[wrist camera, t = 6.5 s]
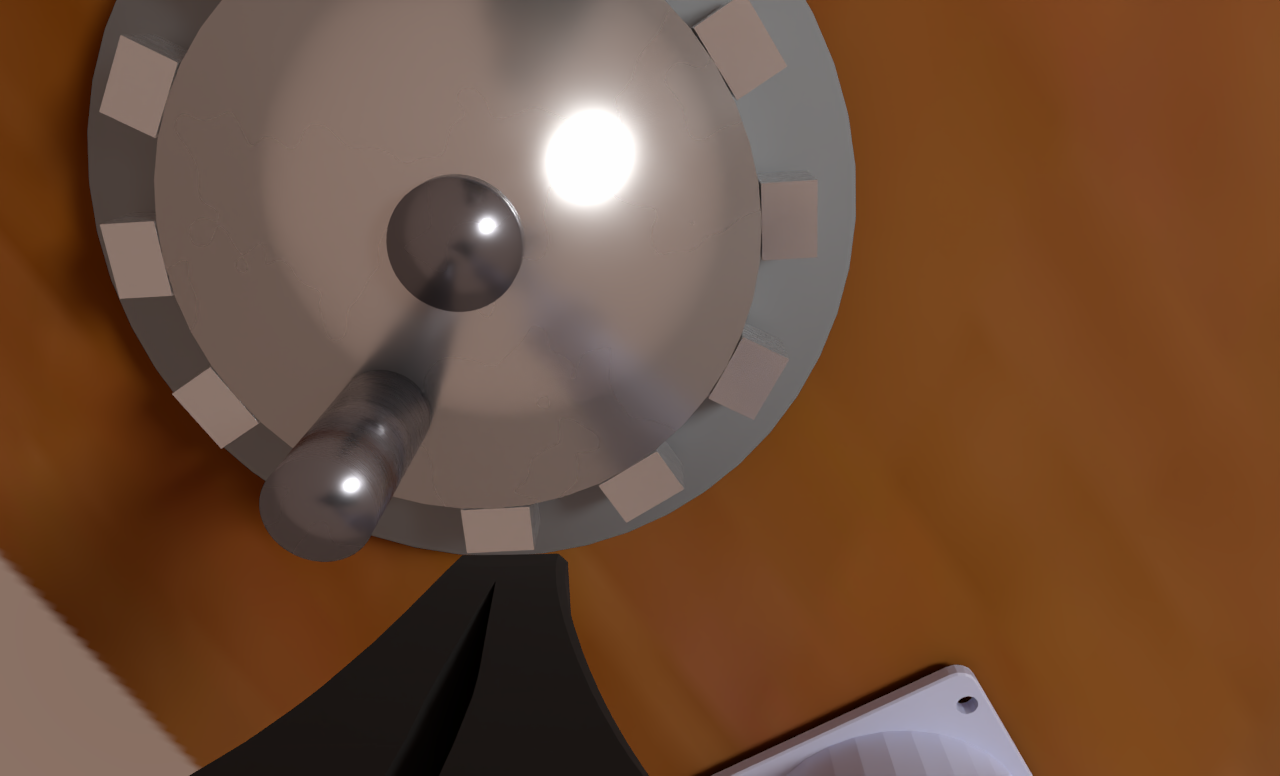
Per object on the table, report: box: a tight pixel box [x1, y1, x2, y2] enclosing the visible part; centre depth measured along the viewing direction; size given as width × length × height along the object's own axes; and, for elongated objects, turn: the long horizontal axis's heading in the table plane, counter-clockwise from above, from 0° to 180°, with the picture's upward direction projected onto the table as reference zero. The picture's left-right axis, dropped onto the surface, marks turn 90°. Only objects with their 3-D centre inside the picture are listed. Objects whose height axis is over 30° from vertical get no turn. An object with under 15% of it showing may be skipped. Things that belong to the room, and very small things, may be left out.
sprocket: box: [99, 0, 818, 562], centre depth 16 cm, size 13×13×5 cm
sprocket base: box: [87, 0, 856, 555], centre depth 19 cm, size 15×15×1 cm
